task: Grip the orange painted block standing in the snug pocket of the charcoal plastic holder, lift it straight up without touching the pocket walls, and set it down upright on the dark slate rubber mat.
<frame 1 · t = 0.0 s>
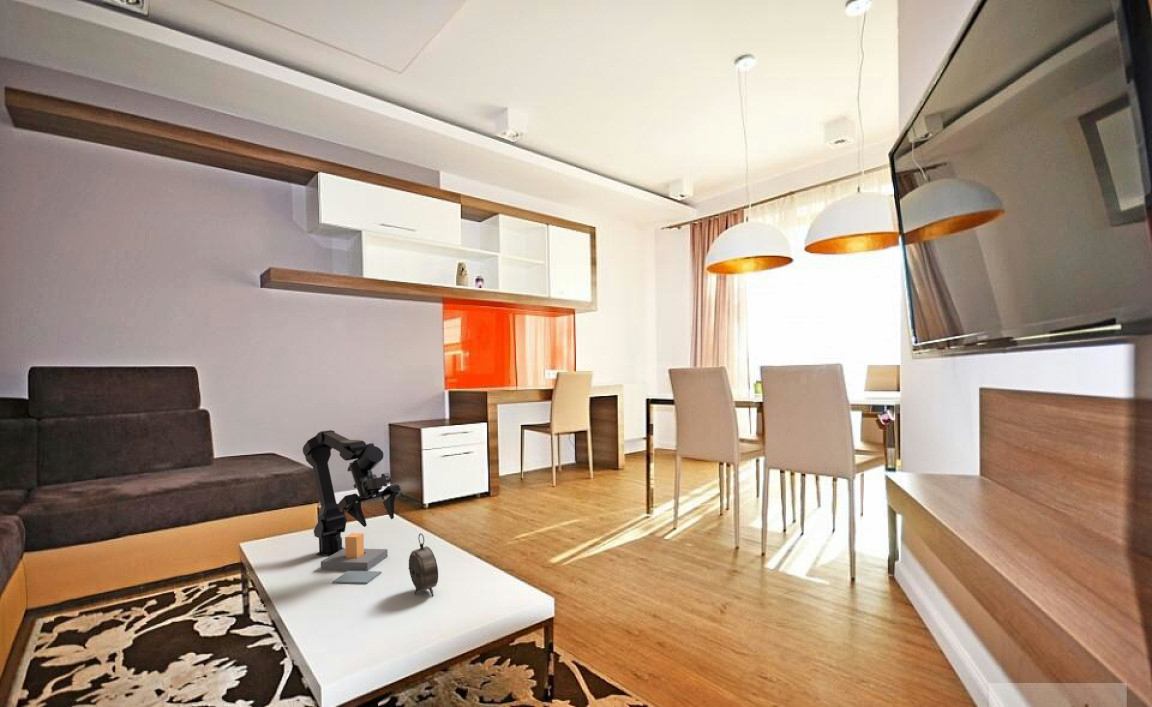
hand: (379, 522, 161), 15 cm above the table, tool tilted 35°, fingers open, 9 cm apart
alarm clock: (422, 593, 144), on the table
holder: (355, 562, 169), on the table
mat: (357, 577, 156), on the table
orange block: (355, 563, 169), resting in holder
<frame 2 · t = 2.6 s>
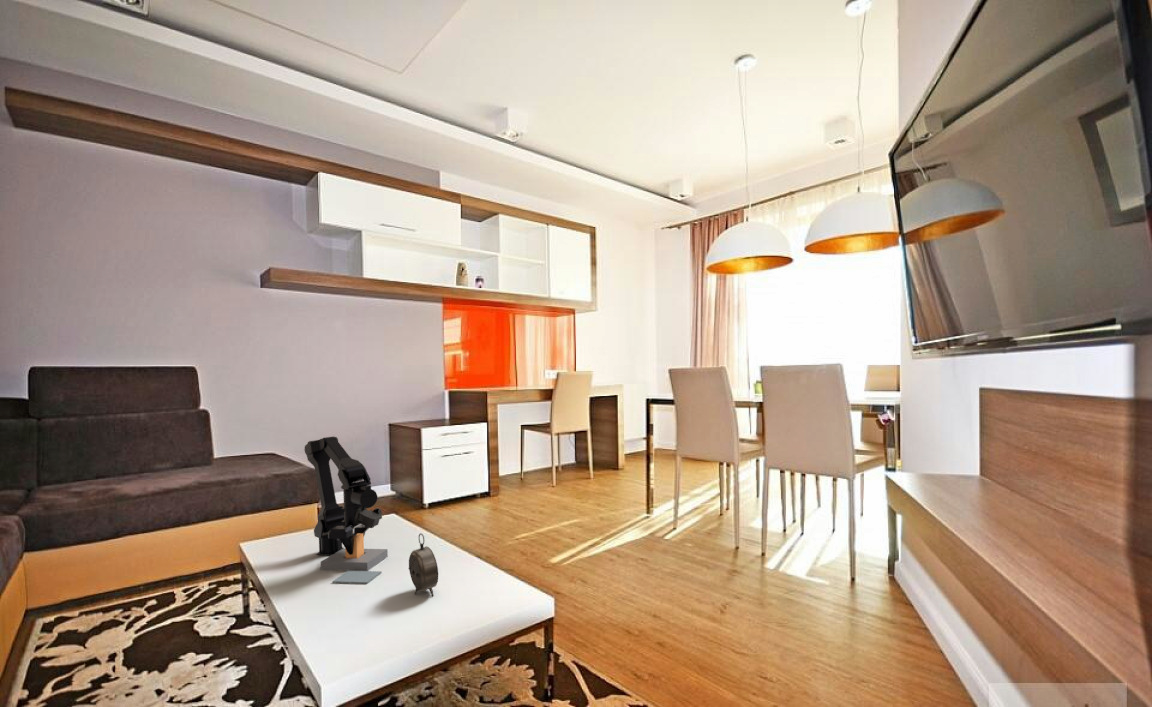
hand: (354, 552, 169), 4 cm above the table, tool pointing down, fingers closed on orange block, 4 cm apart
orange block: (355, 563, 169), resting in holder, touching gripper
everything else where it was.
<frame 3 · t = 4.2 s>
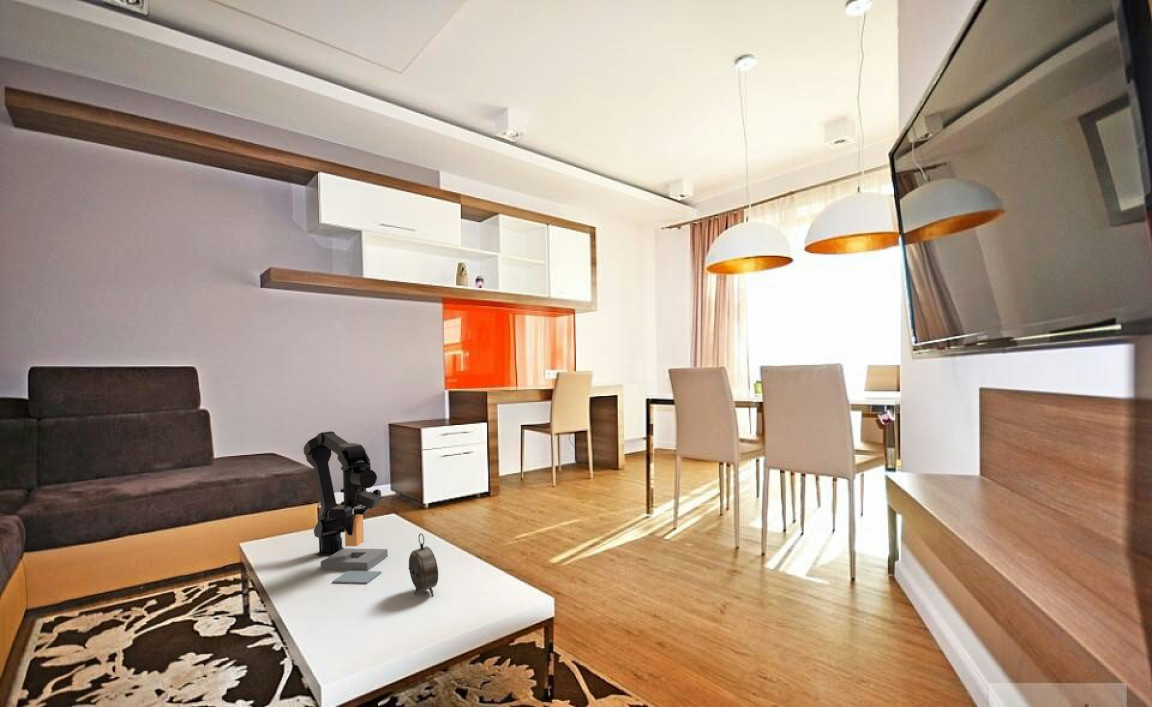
hand: (354, 532, 169), 10 cm above the table, tool pointing down, fingers closed on orange block, 4 cm apart
orange block: (354, 544, 169), point 6 cm above the table, touching gripper
everything else where it was.
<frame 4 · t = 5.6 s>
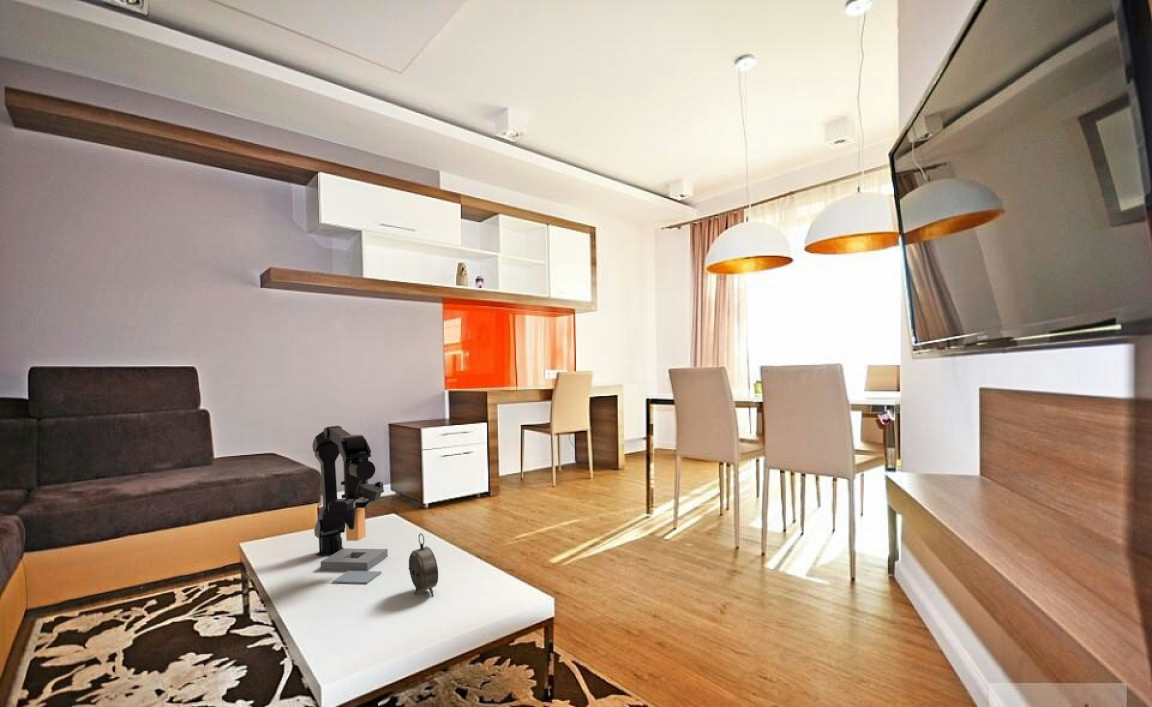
hand: (355, 527, 162), 14 cm above the table, tool pointing down, fingers closed on orange block, 4 cm apart
orange block: (356, 538, 162), point 10 cm above the table, touching gripper
everything else where it was.
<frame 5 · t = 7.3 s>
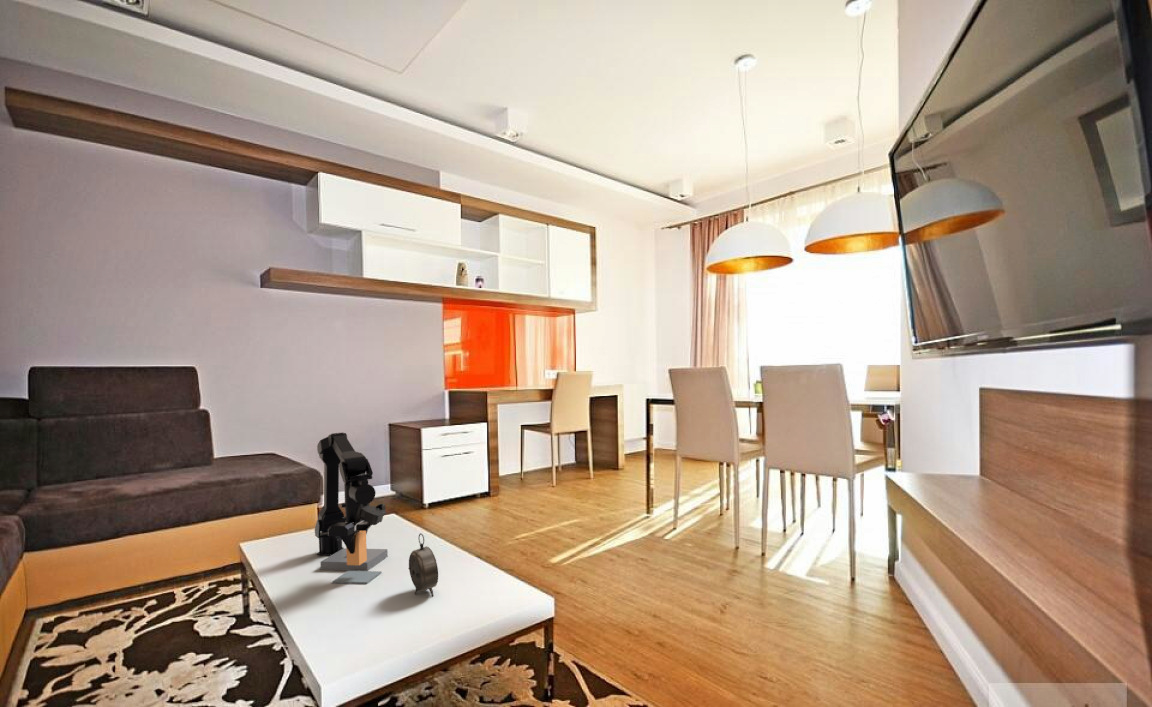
hand: (356, 550, 156), 8 cm above the table, tool pointing down, fingers closed on orange block, 4 cm apart
orange block: (356, 562, 156), point 5 cm above the table, touching gripper
everything else where it was.
when the fingers open (4 cm above the table, at t = 8.8 s): orange block stays where it is, resting on mat.
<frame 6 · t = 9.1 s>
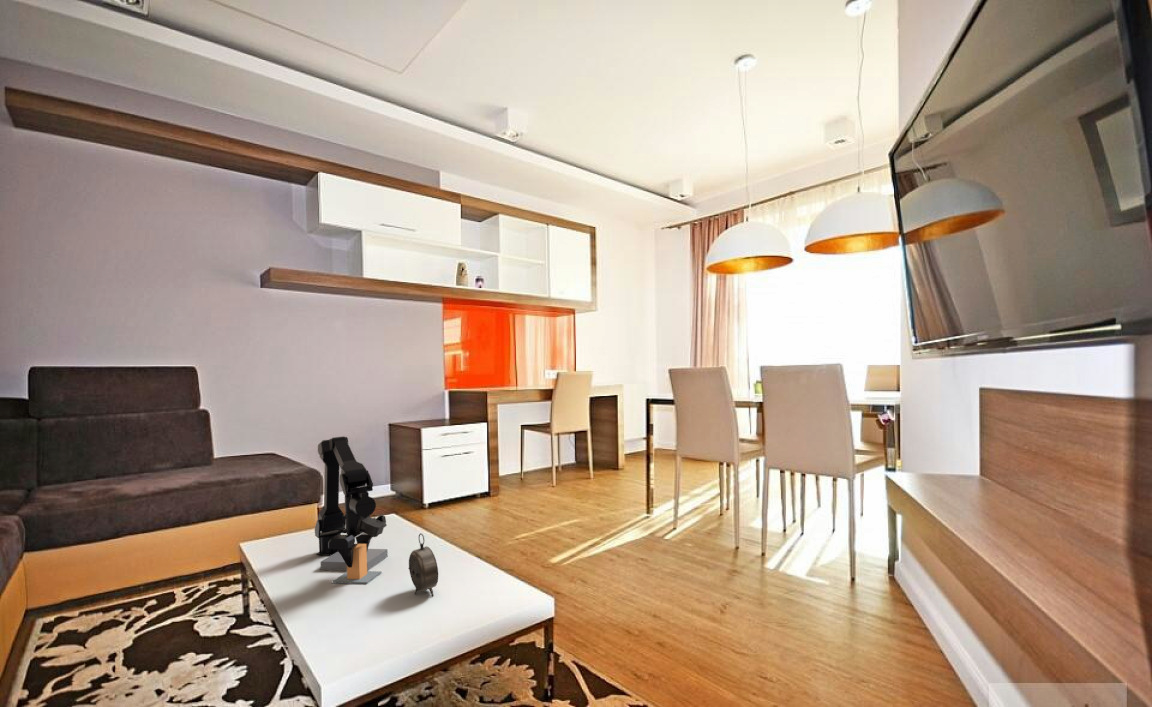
hand: (356, 562, 156), 4 cm above the table, tool pointing down, fingers open, 7 cm apart
orange block: (357, 576, 156), resting on mat
everything else where it was.
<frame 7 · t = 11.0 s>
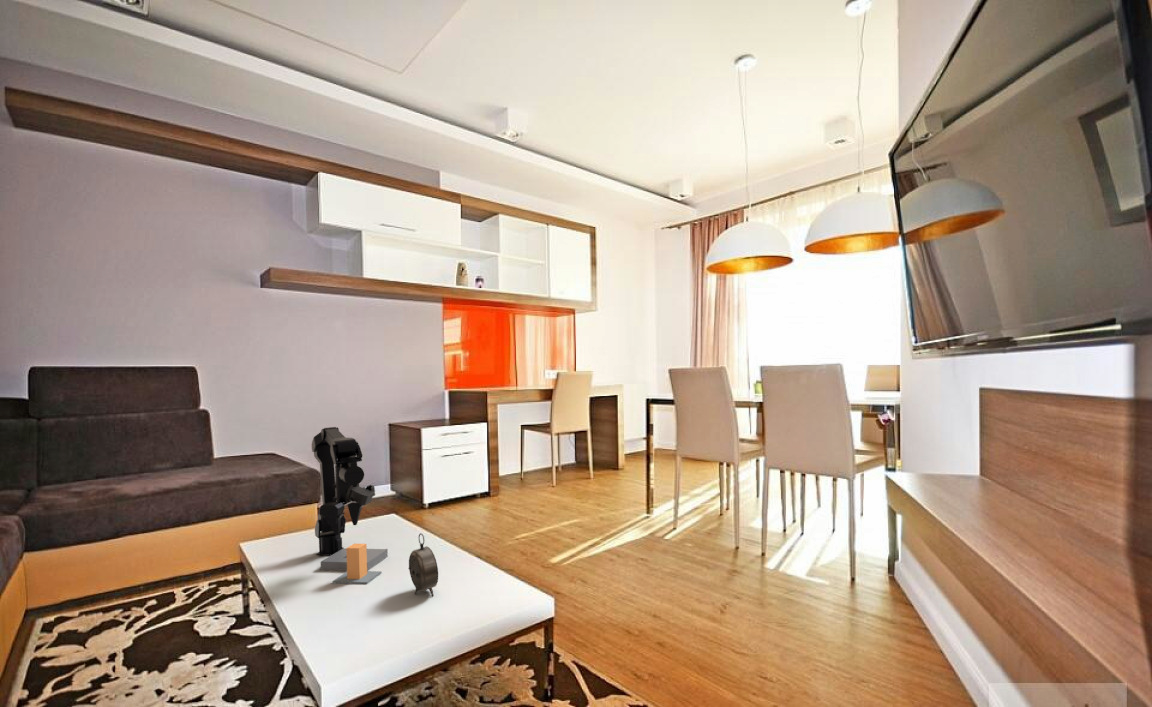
hand: (346, 529, 163), 13 cm above the table, tool pointing down, fingers open, 9 cm apart
nothing on the table moved.
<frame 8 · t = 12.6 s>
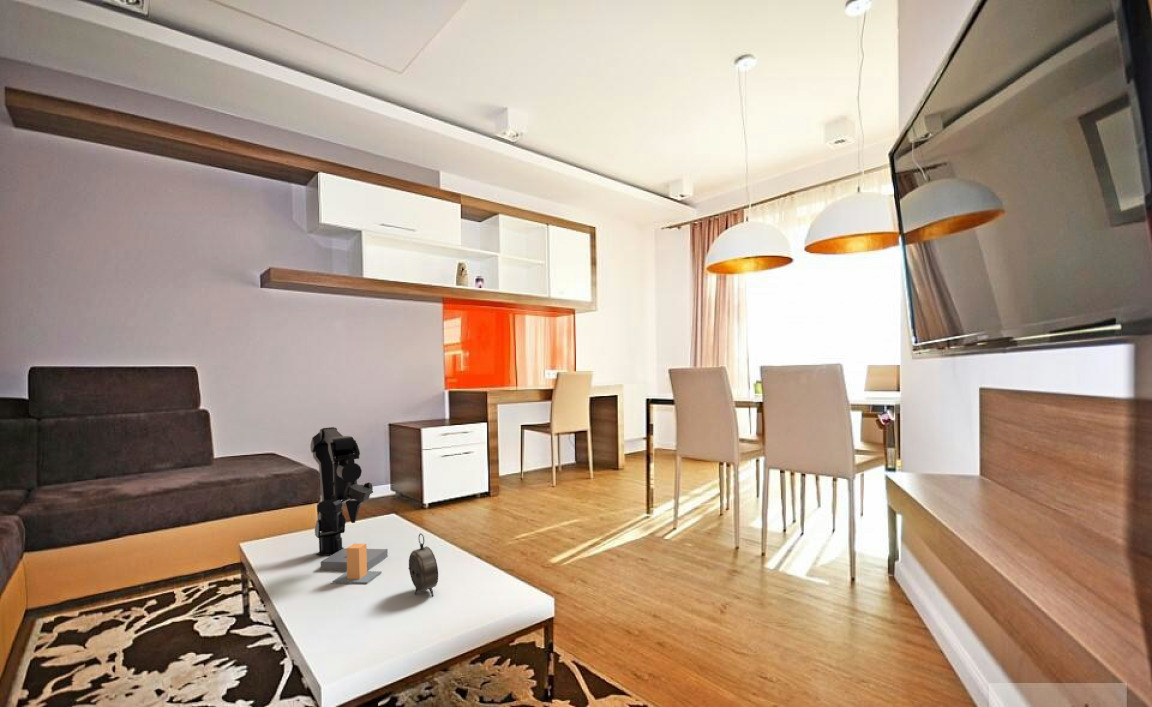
hand: (344, 527, 164), 13 cm above the table, tool pointing down, fingers open, 9 cm apart
nothing on the table moved.
at the end: orange block 0.0 cm off-centre on the mat, point 0.5 cm above the mat's base; orange block tilted 0°; orange block touching mat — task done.
